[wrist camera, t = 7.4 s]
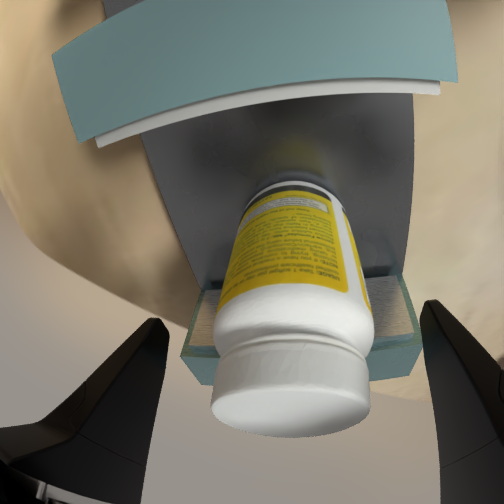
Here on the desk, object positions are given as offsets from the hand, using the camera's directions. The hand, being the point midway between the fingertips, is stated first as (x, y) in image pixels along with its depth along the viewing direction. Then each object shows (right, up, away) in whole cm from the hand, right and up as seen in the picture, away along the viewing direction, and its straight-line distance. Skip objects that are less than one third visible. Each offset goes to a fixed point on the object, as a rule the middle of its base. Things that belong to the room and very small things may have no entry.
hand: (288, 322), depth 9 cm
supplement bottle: (+1, +3, +4) cm, 5 cm away
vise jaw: (-2, +12, -3) cm, 13 cm away
